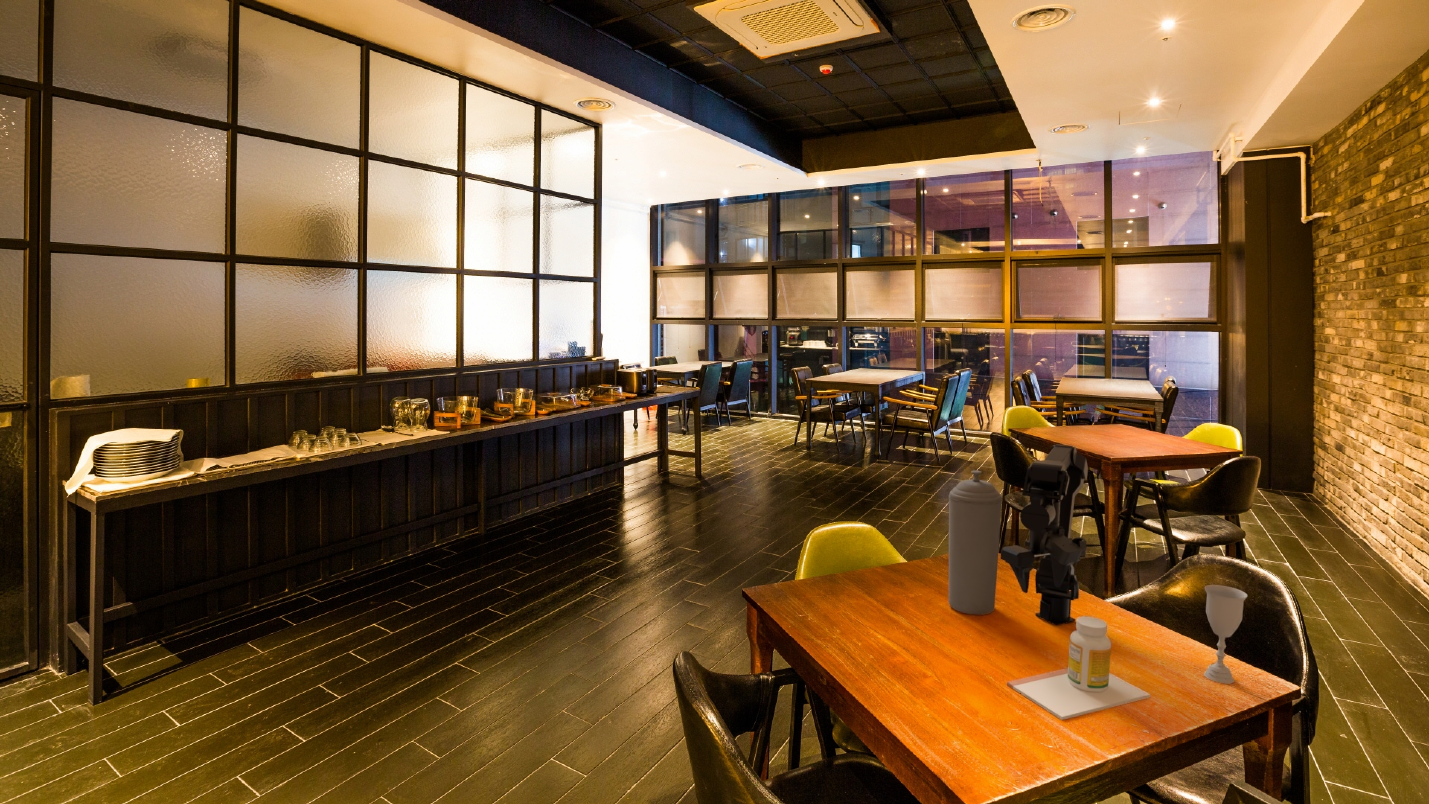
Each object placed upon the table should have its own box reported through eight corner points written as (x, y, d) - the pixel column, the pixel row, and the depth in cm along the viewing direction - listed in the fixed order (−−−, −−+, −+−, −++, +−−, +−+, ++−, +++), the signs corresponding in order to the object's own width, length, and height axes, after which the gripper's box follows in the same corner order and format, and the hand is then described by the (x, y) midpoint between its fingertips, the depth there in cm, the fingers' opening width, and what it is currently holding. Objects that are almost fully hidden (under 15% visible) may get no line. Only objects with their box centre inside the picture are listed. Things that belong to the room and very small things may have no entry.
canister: (946, 615, 177) (951, 475, 173) (943, 596, 189) (947, 464, 185) (1002, 619, 174) (1007, 477, 170) (994, 600, 186) (1000, 467, 182)
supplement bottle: (1063, 685, 141) (1066, 622, 140) (1072, 671, 147) (1075, 611, 145) (1104, 697, 137) (1107, 632, 135) (1112, 682, 142) (1116, 620, 141)
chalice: (1189, 669, 149) (1195, 585, 147) (1220, 667, 149) (1227, 584, 147) (1217, 687, 142) (1223, 599, 140) (1249, 685, 142) (1256, 597, 140)
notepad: (1090, 665, 151) (1090, 662, 150) (1149, 697, 138) (1150, 694, 138) (1006, 684, 143) (1006, 681, 143) (1061, 720, 130) (1061, 716, 130)
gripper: (1039, 535, 146) (1036, 609, 148) (1108, 525, 152) (1104, 596, 154) (1000, 521, 156) (997, 590, 158) (1066, 512, 163) (1062, 579, 164)
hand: (1041, 589), depth 158 cm, fingers open, 9 cm apart
